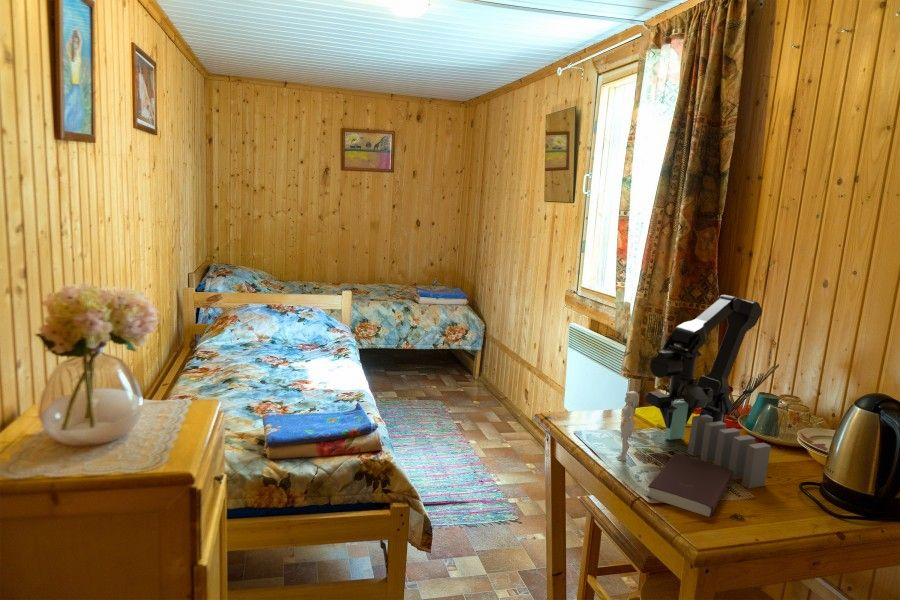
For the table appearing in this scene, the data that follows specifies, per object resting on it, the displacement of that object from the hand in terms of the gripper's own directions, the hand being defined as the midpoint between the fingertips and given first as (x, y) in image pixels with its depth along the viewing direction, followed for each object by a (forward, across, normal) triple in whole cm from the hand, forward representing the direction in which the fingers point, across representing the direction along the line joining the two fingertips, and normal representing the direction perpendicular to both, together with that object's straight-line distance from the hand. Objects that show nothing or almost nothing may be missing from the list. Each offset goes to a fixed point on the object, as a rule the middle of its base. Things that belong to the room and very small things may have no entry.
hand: (675, 427), depth 171 cm
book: (+4, -16, -24) cm, 30 cm away
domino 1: (+4, 0, -9) cm, 10 cm away
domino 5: (+4, 0, -27) cm, 27 cm away
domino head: (+3, 0, 0) cm, 3 cm away
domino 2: (+4, 0, -14) cm, 14 cm away
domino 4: (+4, 0, -22) cm, 23 cm away
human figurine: (+4, -22, -7) cm, 23 cm away
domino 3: (+4, 0, -18) cm, 18 cm away
